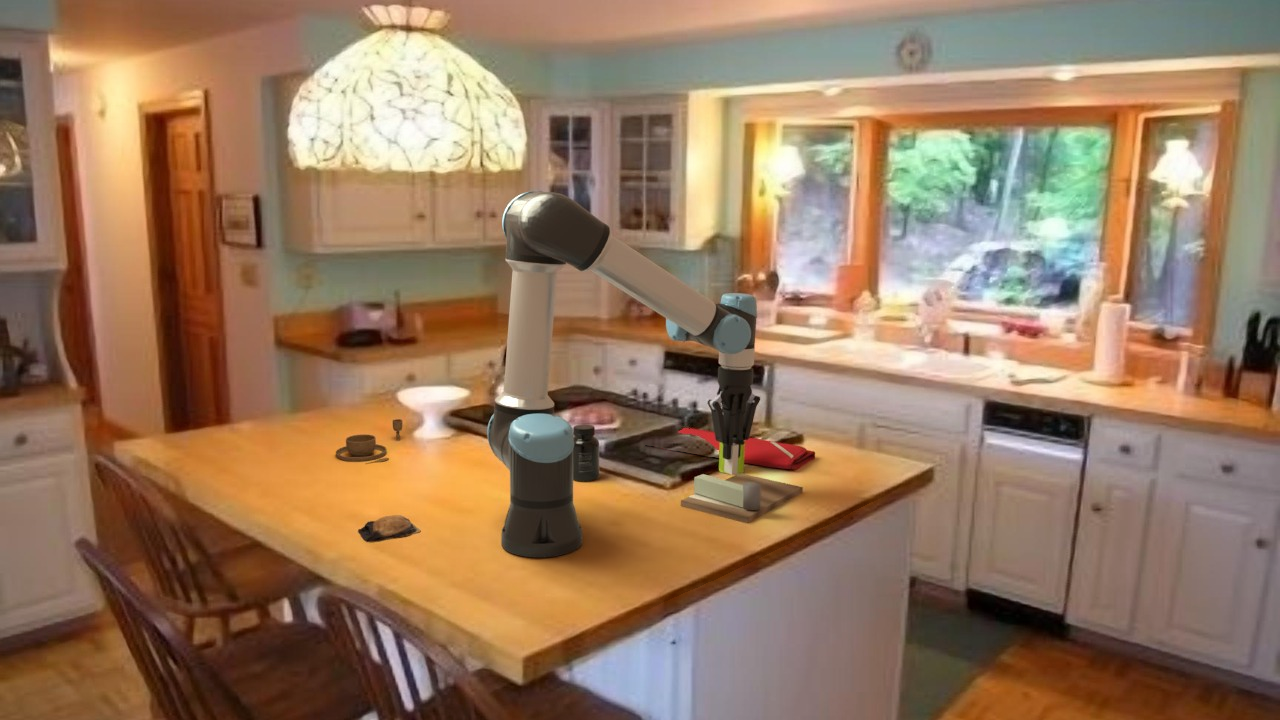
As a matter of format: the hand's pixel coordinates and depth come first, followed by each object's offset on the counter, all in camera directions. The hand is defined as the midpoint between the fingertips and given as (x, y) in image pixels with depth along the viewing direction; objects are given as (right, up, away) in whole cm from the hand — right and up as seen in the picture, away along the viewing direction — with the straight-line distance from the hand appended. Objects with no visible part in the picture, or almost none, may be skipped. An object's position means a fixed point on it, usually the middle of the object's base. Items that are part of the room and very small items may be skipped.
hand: (730, 472), depth 205 cm
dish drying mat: (+2, +1, +32) cm, 32 cm away
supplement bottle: (-32, -3, +10) cm, 34 cm away
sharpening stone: (-1, -5, -8) cm, 10 cm away
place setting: (-85, +1, +28) cm, 89 cm away
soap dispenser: (+2, -2, +17) cm, 17 cm away
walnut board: (+2, -5, -3) cm, 7 cm away
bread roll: (-68, -9, -24) cm, 73 cm away
